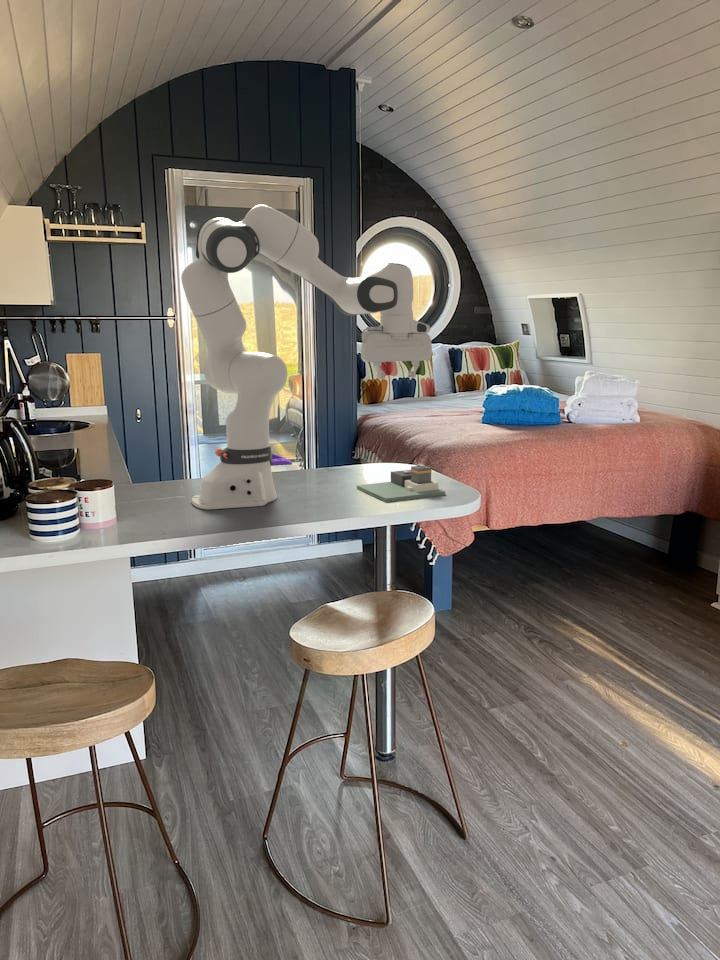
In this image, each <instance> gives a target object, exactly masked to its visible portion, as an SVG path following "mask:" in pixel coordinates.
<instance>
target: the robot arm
mask: <svg viewBox="0 0 720 960" xmlns="http://www.w3.org/2000/svg"><path fill="white" fill-rule="evenodd" d="M319 253H320V245H319V240H318V238H317V237H316V235H315V234H314V233H313V232H311V230H309V228H307V227H305V226H304V225H303V224H302V223H300V222H299V221H297V220H296V219H294V218H292V217H290V216H289V215H288V214H286V213H284V212H282V211H279V210H278V209H276V208H273V207H271V206H268V205H266V204H257V205H255V206H254V207H252V208H251V209H250V210H249V211H248V212H247V213H246V214H245V216H244V218H243V219H241V221H238V222H235V221H233V220H232V219H230V218H228V217H225V216H221V215H215V216H211V217H209V218H207V219H206V220H204V221H203V222H202V223H201V225H200V226H199V228H198V231H197V236H196V248H195V256H196V259H197V260H194V261H193V262H191V263H190V264H188V265H187V266H186V267H185V268H184V269H183V271H182V272H181V284H182V287H183V291H184V295H185V297H186V300H187V303H188V306H189V308H190V310H191V312H192V315H193V317H194V318H195V320H196V323H197V326H198V327H199V329H200V333H201V334H202V336H203V338H204V342H205V345H206V349H207V355H208V357H207V360H206V363H205V365H204V377H205V380H206V381H207V384H208V385H209V386H210V387H211V388H212V389H215V390H217V391H220V392H222V393H226V394H234V395H235V394H237V400H236V403H235V404H236V405H235V406H234V409H233V410H232V412H231V411H230V413H229V414H228V415H227V417H226V419H225V420H226V421H225V427H226V444H227V445H226V447H225V448H224V449H222V448H220V447H218V448H216V449H215V450H214V455H216V456H218V457H219V458H220V462H219V464H217V465H216V466H215V467H214V468H212V469H211V470H210V471H209V472H208V473H206V474H205V475H203V477H202V479H201V480H200V485H199V487H200V488H199V494H196V495H194V496H192V497H191V504H192V505H193V507H194V506H195V508H198V509H201V510H219V509H221V510H222V509H235V508H236V509H237V508H251V507H262V506H265V505H267V504H268V503H271V502H273V501H275V500H277V499H278V495H277V492H276V488H275V485H274V480H273V473H272V453H273V452H272V447H271V445H270V414H271V410H272V406H273V404H274V401H275V399H276V397H277V395H278V394H279V393H280V392H281V391H282V390H283V389H284V388H285V386H286V385H287V381H288V369H287V366H286V363H285V361H284V360H283V359H282V358H281V357H279V356H277V355H274V354H272V353H269V352H265V351H264V352H263V351H247V350H246V349H245V347H244V345H243V343H244V342H243V335H245V332H246V331H247V321H246V318H245V316H244V314H243V312H242V310H241V308H240V305H239V303H238V301H237V299H236V296H235V294H234V292H233V290H232V288H231V285H230V282H229V274H231V273H232V274H233V273H238V272H240V271H242V270H244V269H245V268H246V267H247V266H248V265H249V263H250V262H251V261H252V260H253V259H255V258H256V257H257V256H258V255H259V254H261V255H263V256H264V257H266V258H268V259H269V260H270V261H272V262H274V263H276V265H278V266H280V267H282V268H284V269H286V270H288V271H290V272H292V273H294V274H296V275H298V276H299V277H300V278H302V279H303V280H305V281H307V282H308V284H310V285H312V286H313V287H314V288H316V289H317V290H319V291H321V292H322V293H323V294H325V296H326V297H328V299H330V301H331V302H332V303H333V305H334V307H335V308H336V309H337V310H338V312H340V313H341V314H342V315H345V316H348V317H349V316H350V317H352V316H353V317H354V316H358V315H368V314H369V315H371V314H377V313H380V314H379V317H380V319H379V320H380V323H379V324H380V325H379V326H367V327H366V328H364V329H363V330H362V332H361V341H362V342H361V349H360V358H361V360H362V361H363V363H373V368H374V370H375V371H376V373H377V374H376V375H377V376H376V377H377V379H378V380H385V379H386V372H384V371H382V369H381V366H382V363H383V362H384V363H385V362H386V363H388V362H411V365H412V367H411V369H410V370H408V371H407V378H409V379H413V378H416V376H417V375H416V374H417V371H418V368H419V367H420V363H421V362H423V361H430V360H431V358H432V355H433V348H432V344H433V343H432V338H431V335H429V332H430V328H431V327H430V325H429V324H427V323H424V322H421V321H419V320H416V319H414V311H413V301H414V279H413V278H414V277H413V274H412V270H411V268H409V267H408V266H407V265H405V264H401V263H394V262H387V263H384V264H383V265H382V266H381V267H380V268H379V269H377V270H375V271H373V272H371V273H369V274H367V275H364V276H359V277H347V276H343V275H341V274H339V273H338V272H337V271H335V270H334V269H332V268H331V267H330V266H328V265H327V264H325V262H323V261H322V260H321V259H320V258H319ZM420 361H421V362H420Z"/></svg>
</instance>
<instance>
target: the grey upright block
mask: <svg viewBox="0 0 720 960" xmlns="http://www.w3.org/2000/svg"><path fill="white" fill-rule="evenodd" d="M410 470H411V482H413V483H416V484H424V483H431V480H432V467H430V466H427V465H424V464H422V463H417V464H416V465H413V466H411V467H410Z"/></svg>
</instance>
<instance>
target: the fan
mask: <svg viewBox="0 0 720 960" xmlns="http://www.w3.org/2000/svg"><path fill="white" fill-rule="evenodd" d="M405 480H411V469H405V470H396V471H390V482H392V483H394V484H397V485H399V486H402V487H405Z"/></svg>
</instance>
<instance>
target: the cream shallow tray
mask: <svg viewBox="0 0 720 960" xmlns="http://www.w3.org/2000/svg"><path fill="white" fill-rule="evenodd" d="M405 488H406V490H409V491H415V492H424V491H432V490H438V489H439V481H438V482H437V481H435V480H433V479H431V483H424V484H416V483H413V482H411V480H405Z"/></svg>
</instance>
